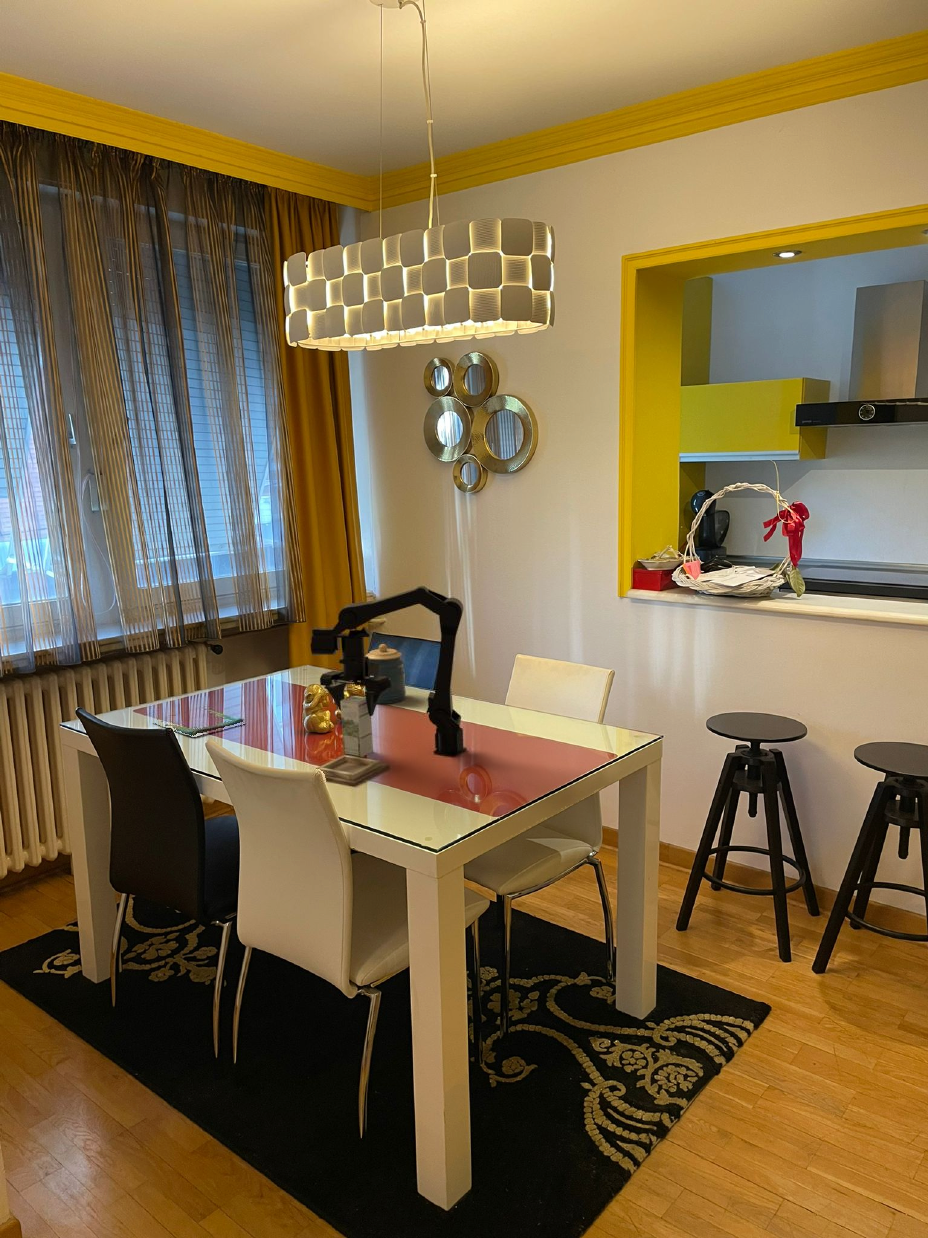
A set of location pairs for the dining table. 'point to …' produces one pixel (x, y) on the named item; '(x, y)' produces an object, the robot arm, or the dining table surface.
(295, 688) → the dining table surface
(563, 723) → the dining table surface
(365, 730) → the syrup box
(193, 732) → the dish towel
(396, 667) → the canister
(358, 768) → the socket stand
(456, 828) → the dining table surface
